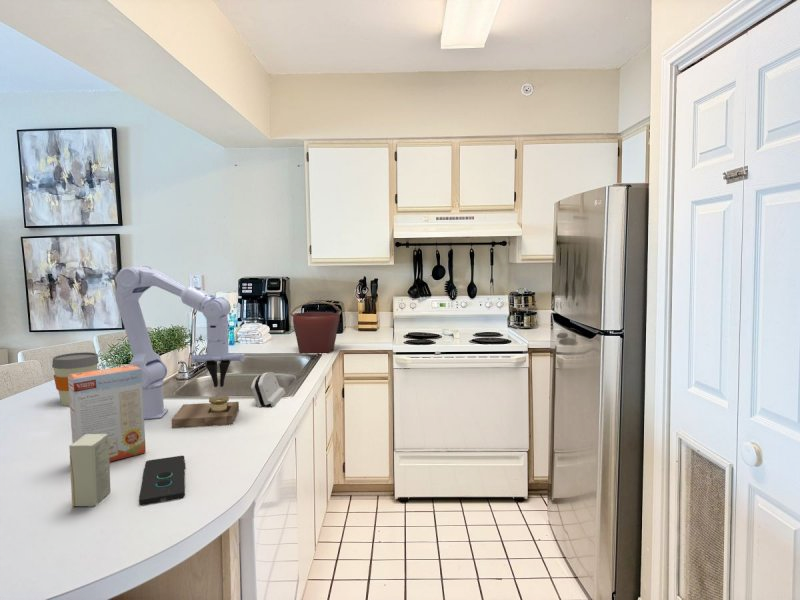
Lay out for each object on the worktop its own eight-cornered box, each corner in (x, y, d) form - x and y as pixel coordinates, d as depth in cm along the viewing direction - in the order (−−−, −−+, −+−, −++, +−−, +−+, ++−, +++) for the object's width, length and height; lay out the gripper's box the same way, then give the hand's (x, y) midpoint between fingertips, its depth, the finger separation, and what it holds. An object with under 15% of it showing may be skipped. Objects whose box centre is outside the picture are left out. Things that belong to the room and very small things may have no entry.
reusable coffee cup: (108, 400, 163) (106, 354, 162) (66, 410, 153) (63, 361, 151) (88, 394, 170) (86, 350, 169) (46, 403, 159) (44, 357, 158)
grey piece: (273, 407, 156) (262, 377, 155) (259, 412, 156) (247, 382, 155) (285, 392, 173) (275, 366, 172) (273, 397, 173) (262, 370, 172)
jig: (171, 428, 137) (171, 419, 137) (183, 412, 151) (183, 404, 150) (232, 424, 140) (232, 415, 140) (238, 409, 154) (238, 401, 154)
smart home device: (137, 499, 94) (145, 460, 113) (138, 508, 95) (145, 467, 113) (185, 491, 98) (185, 454, 116) (185, 500, 98) (185, 461, 116)
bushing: (207, 421, 143) (207, 400, 142) (211, 415, 148) (211, 395, 148) (227, 420, 144) (226, 400, 143) (230, 414, 149) (230, 395, 148)
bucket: (344, 348, 257) (344, 299, 255) (335, 356, 235) (334, 303, 233) (298, 347, 259) (297, 299, 257) (284, 355, 238) (283, 303, 235)
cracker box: (138, 446, 124) (134, 363, 122) (146, 453, 119) (142, 367, 118) (72, 463, 114) (67, 373, 112) (78, 471, 110) (73, 377, 108)
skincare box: (88, 492, 100) (85, 433, 99) (112, 491, 100) (109, 432, 99) (71, 508, 94) (67, 445, 93) (95, 507, 94) (92, 444, 93)
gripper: (187, 343, 139) (189, 390, 140) (242, 341, 142) (243, 388, 143) (193, 338, 146) (194, 384, 147) (245, 337, 148) (246, 382, 150)
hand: (219, 386), depth 145 cm, fingers closed
